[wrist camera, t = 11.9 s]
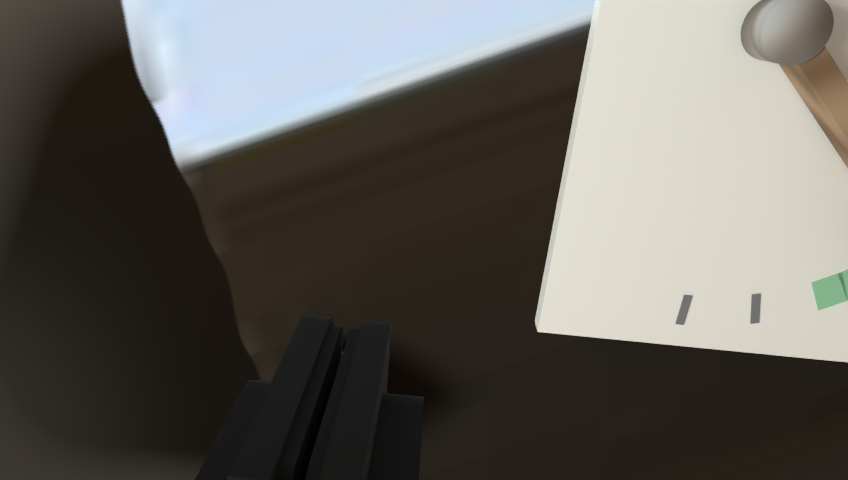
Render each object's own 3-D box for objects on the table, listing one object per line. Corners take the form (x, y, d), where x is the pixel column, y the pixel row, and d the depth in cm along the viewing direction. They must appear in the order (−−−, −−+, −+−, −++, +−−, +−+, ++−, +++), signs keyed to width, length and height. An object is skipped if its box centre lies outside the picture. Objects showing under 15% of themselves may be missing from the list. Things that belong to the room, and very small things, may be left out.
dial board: (603, -44, 34) (610, -46, 32) (1062, -1, 34) (1089, -1, 32) (534, 321, 44) (537, 332, 42) (889, 356, 43) (904, 368, 42)
